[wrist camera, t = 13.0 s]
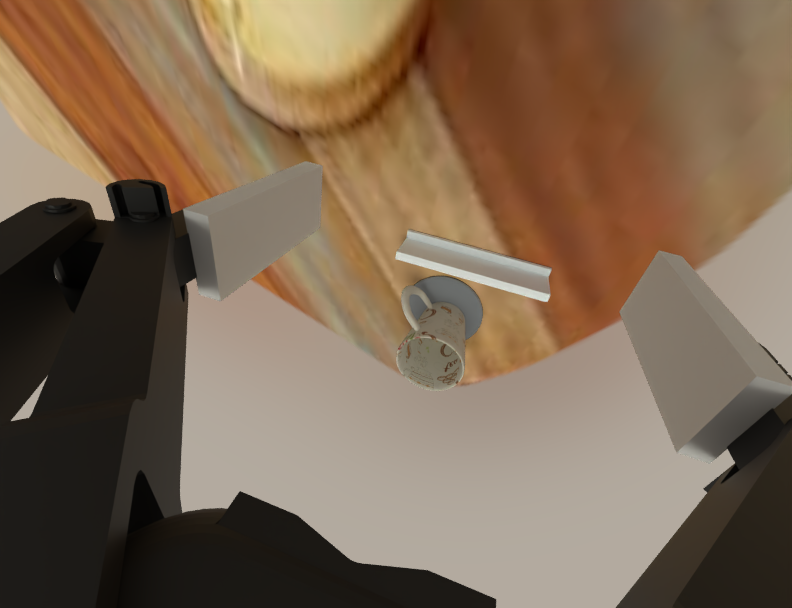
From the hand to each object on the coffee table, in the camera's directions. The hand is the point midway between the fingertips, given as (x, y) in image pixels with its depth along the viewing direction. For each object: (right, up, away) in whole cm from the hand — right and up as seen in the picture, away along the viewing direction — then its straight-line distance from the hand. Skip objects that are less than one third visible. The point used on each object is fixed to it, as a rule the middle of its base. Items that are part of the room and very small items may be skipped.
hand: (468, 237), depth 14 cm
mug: (+3, -3, +36) cm, 36 cm away
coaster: (+4, -4, +36) cm, 37 cm away
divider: (+7, +3, +31) cm, 32 cm away
